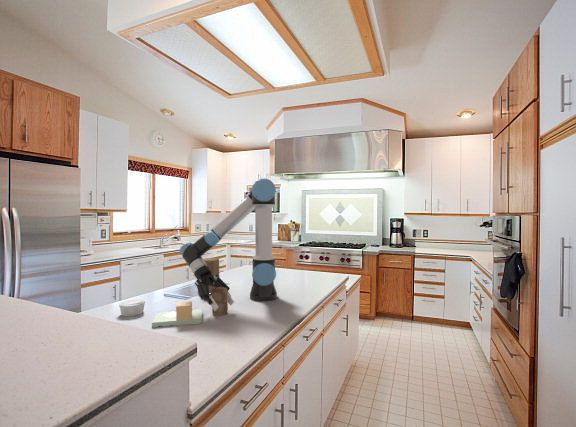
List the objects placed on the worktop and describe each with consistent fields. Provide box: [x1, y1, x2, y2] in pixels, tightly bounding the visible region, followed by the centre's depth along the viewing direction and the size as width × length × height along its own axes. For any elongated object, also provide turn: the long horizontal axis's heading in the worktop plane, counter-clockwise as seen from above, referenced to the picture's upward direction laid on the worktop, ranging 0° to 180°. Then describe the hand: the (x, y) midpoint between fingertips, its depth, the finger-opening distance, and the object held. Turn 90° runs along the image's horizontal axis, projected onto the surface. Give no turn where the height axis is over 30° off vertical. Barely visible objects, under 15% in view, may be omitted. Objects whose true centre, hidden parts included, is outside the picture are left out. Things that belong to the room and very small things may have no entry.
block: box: [197, 257, 220, 295], centre depth 192 cm, size 10×10×20 cm
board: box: [151, 308, 204, 328], centre depth 143 cm, size 20×14×2 cm
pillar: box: [211, 287, 229, 317], centre depth 151 cm, size 5×5×12 cm
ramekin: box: [119, 299, 146, 317], centre depth 154 cm, size 11×11×5 cm
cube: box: [175, 301, 193, 320], centre depth 140 cm, size 6×6×6 cm
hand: (224, 306), depth 149 cm, fingers open, 10 cm apart
